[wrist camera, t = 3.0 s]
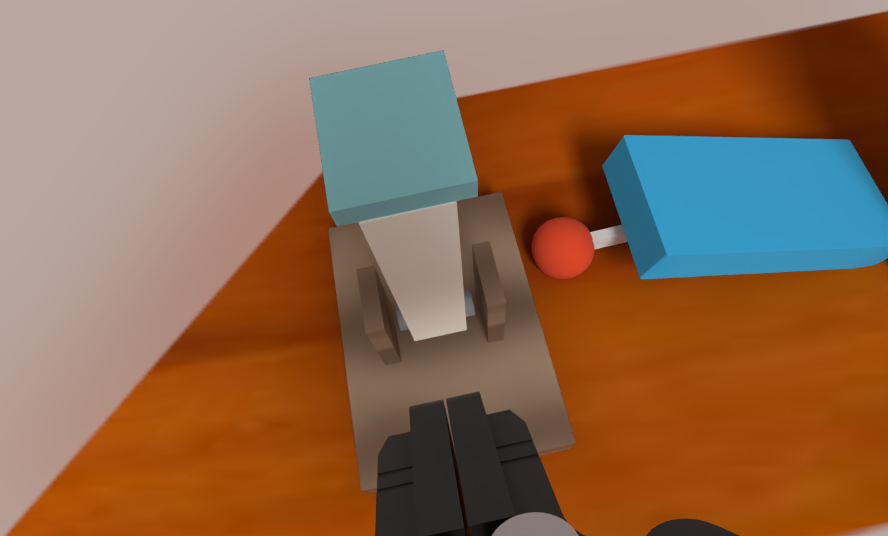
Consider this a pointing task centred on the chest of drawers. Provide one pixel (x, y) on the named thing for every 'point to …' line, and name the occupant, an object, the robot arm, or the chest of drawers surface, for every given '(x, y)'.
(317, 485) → the chest of drawers surface
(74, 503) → the chest of drawers surface
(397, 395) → the catapult stand
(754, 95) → the chest of drawers surface
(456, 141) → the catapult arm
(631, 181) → the lever
